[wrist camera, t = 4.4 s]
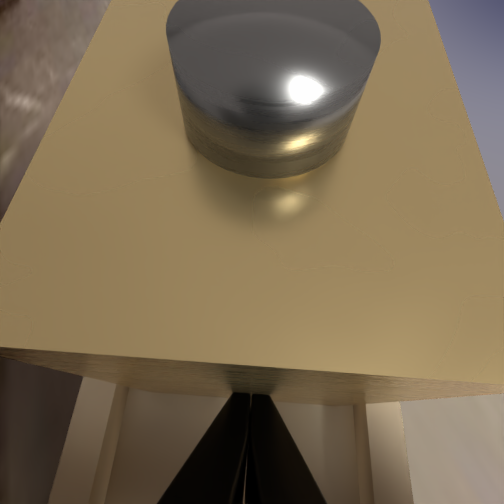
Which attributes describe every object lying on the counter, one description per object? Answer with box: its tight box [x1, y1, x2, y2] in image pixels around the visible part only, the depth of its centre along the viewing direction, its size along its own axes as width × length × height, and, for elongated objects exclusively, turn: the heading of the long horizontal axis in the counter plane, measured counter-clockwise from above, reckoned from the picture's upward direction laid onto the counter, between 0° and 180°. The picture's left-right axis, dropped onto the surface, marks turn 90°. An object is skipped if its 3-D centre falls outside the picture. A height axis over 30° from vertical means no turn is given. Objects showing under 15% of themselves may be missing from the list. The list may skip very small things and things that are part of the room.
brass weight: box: [0, 0, 504, 406], centre depth 8 cm, size 7×6×9 cm
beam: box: [48, 376, 414, 504], centre depth 12 cm, size 23×10×3 cm, turn 176°
